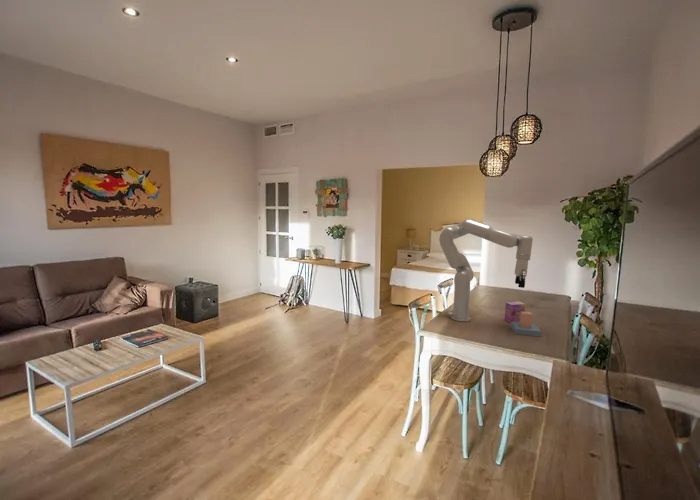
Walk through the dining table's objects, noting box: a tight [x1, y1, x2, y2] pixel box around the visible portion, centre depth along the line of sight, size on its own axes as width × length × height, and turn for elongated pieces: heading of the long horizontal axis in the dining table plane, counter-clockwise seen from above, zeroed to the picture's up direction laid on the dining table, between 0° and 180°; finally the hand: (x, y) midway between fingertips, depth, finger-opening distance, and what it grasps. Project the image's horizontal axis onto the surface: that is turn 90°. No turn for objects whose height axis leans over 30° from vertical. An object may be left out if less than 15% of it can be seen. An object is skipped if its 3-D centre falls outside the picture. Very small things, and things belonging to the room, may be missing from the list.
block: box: [520, 311, 533, 328], centre depth 210 cm, size 5×5×8 cm
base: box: [510, 322, 542, 337], centre depth 210 cm, size 13×14×3 cm
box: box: [503, 301, 526, 324], centre depth 229 cm, size 10×6×12 cm, turn 105°
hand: (519, 285), depth 212 cm, fingers open, 9 cm apart
